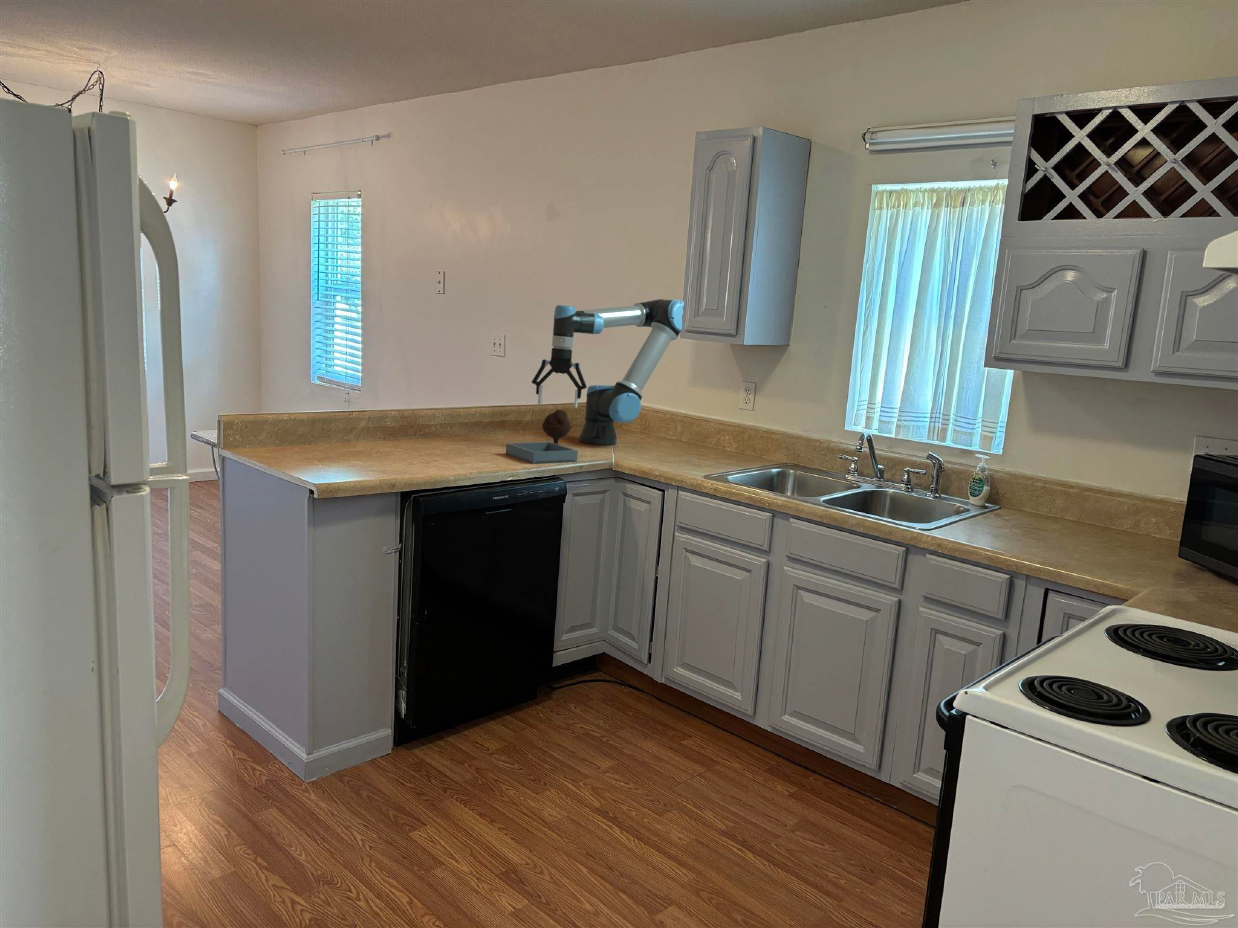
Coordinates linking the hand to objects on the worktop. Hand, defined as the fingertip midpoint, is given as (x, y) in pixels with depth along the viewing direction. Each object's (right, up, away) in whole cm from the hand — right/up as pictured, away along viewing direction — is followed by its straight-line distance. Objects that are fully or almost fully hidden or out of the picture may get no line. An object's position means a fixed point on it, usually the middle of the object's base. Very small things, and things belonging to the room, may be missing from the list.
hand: (557, 405), depth 326 cm
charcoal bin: (-5, -20, -18) cm, 27 cm away
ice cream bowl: (-1, -16, +3) cm, 17 cm away
